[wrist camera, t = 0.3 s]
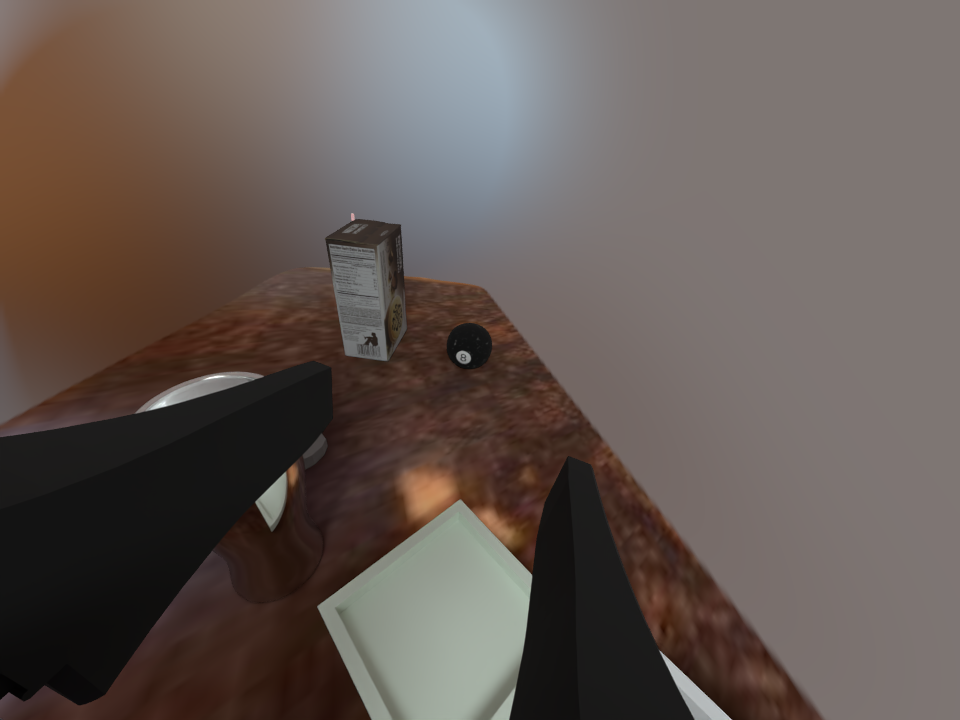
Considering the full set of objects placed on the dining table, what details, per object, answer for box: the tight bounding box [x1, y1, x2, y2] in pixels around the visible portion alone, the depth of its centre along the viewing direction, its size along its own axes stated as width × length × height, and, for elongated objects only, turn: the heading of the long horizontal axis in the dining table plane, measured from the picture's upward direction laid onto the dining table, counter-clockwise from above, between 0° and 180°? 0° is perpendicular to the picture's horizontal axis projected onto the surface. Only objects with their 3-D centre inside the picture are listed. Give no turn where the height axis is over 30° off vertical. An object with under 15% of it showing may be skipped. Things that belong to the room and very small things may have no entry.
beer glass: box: [135, 372, 323, 603], centre depth 22 cm, size 7×7×15 cm
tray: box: [317, 499, 532, 720], centre depth 23 cm, size 12×12×2 cm
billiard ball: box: [447, 323, 492, 369], centre depth 47 cm, size 6×6×6 cm
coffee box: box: [325, 219, 407, 361], centre depth 47 cm, size 9×6×16 cm
